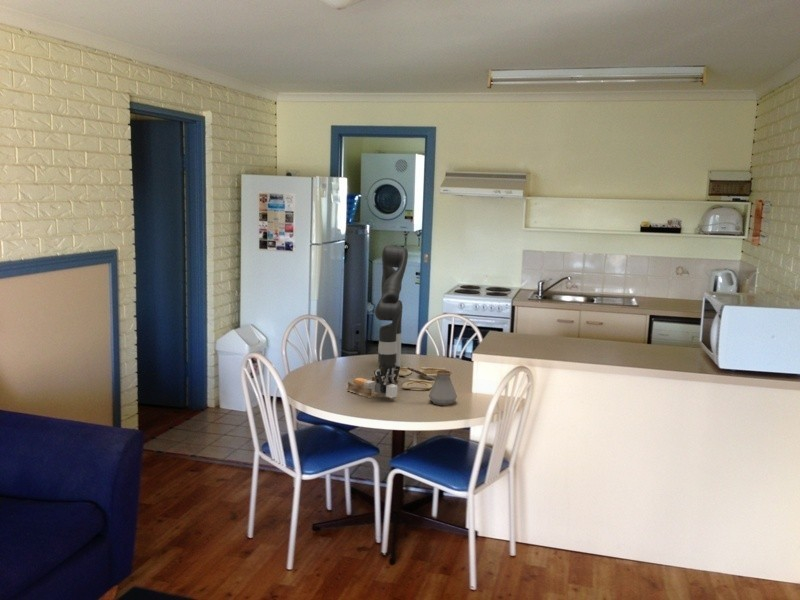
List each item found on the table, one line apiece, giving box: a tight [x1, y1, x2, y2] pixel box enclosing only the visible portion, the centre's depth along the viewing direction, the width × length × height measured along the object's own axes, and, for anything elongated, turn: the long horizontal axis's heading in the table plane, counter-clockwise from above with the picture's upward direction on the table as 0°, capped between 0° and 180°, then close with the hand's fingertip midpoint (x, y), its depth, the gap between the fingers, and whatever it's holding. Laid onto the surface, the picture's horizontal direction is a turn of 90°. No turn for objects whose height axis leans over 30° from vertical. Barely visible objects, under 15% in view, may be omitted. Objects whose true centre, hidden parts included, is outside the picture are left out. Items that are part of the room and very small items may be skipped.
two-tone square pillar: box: [375, 382, 399, 399], centre depth 285 cm, size 9×4×4 cm, turn 48°
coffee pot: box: [406, 366, 458, 406], centre depth 282 cm, size 21×12×15 cm, turn 97°
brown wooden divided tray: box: [346, 375, 396, 399], centre depth 297 cm, size 14×16×4 cm
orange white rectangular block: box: [353, 377, 375, 393], centre depth 294 cm, size 9×4×4 cm, turn 49°
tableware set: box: [369, 366, 447, 391], centre depth 317 cm, size 35×29×4 cm
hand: (386, 391), depth 285 cm, fingers closed on two-tone square pillar, 3 cm apart
